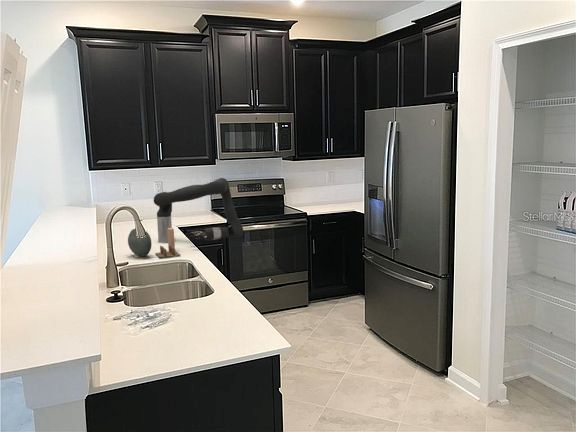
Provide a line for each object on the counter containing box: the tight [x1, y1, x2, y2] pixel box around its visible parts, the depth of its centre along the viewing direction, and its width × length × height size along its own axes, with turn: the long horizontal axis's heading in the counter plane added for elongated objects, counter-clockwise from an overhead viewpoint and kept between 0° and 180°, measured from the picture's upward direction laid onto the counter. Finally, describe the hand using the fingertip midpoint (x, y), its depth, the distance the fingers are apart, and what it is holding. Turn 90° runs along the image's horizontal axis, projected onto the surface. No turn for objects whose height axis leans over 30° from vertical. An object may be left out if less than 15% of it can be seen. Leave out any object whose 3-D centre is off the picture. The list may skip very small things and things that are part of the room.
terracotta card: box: [167, 227, 176, 249], centre depth 297 cm, size 6×2×14 cm, turn 27°
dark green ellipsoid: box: [127, 219, 152, 258], centre depth 283 cm, size 12×17×22 cm
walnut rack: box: [154, 244, 181, 260], centre depth 286 cm, size 12×12×5 cm
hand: (187, 236), depth 302 cm, fingers open, 8 cm apart
